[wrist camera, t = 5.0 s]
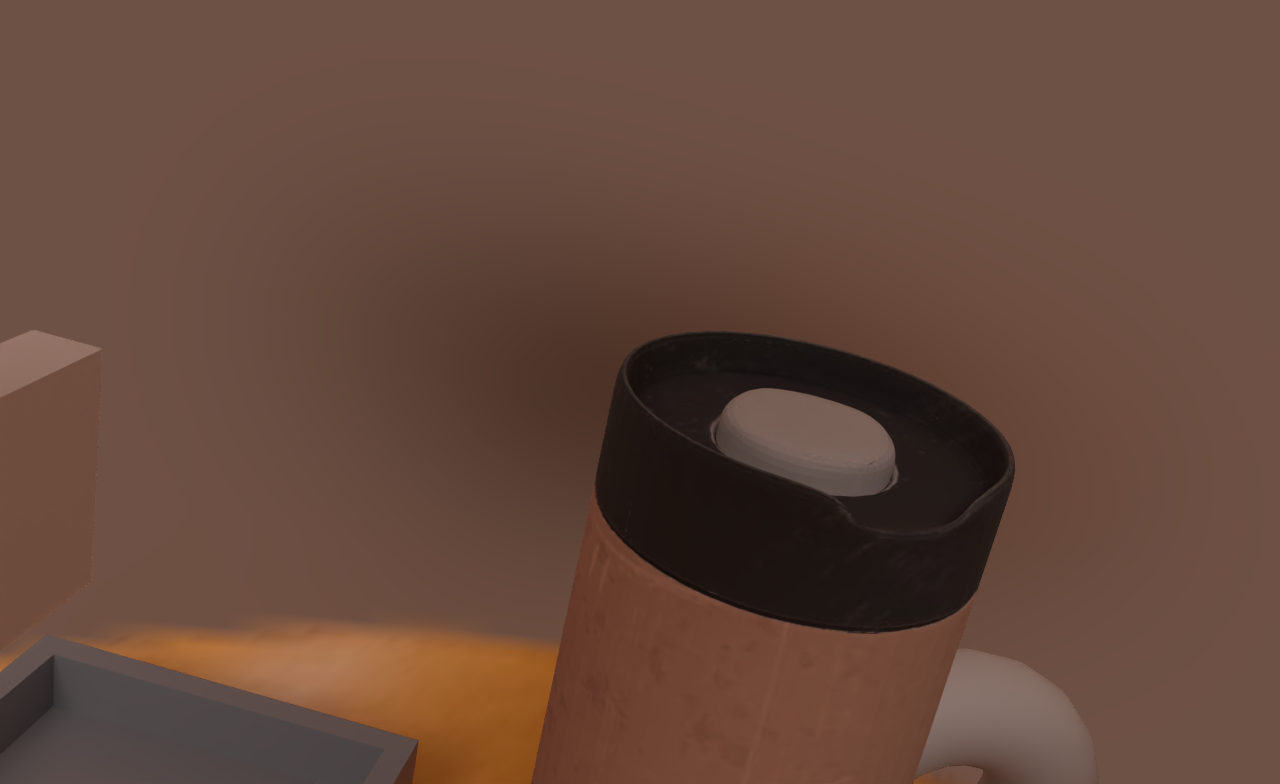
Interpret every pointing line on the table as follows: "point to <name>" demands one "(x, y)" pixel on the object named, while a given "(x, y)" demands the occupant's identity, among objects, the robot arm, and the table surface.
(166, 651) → the table surface
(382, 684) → the table surface
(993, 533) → the travel mug
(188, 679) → the tray
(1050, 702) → the donut
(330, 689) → the table surface
